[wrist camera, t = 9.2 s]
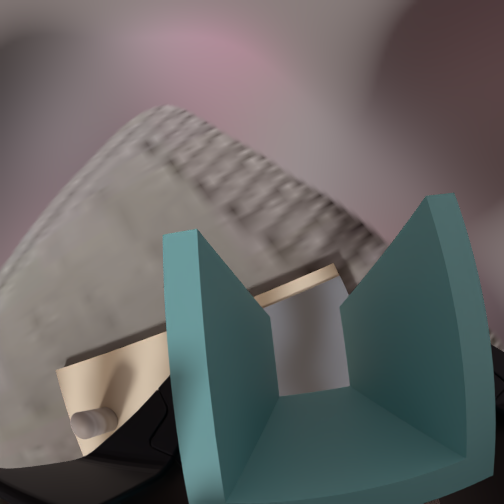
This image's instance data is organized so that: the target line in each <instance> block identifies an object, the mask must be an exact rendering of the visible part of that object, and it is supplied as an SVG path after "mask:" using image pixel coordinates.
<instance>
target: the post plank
mask: <svg viewBox="0 0 504 504" xmlns="http://www.w3.org/2000/svg"><path fill="white" fill-rule="evenodd" d="M348 296H349V294H348V292H347V290H346V288H345V286H344V283H343V281H342V279H341V277H340V276H339V274H338V272H337V270H336V268H335V265H334V263H333V264H331V265H328V266H326V267H324V268H321V269H319V270H317V271H314V272H312V273H310V274H307V275H305V276H303V277H300V278H298V279H296V280H293V281H291V282H289V283H286V284H284V285H281V286H279V287H277V288H274V289H272V290H269V291H267V292H265V293H262V294H260V295H257V296H255V297H254V299H255V300H256V301H257V302H258V303H259V305H260V306H261V307H262V308H263V309H264V310H265V312H266V313H267V314H268V315H269V316H270V320H271V328H272V336H273V345H274V353H275V362H276V371H277V379H278V388H279V396H287V395H295V394H303V393H310V392H317V391H323V390H330V389H336V388H341V387H347V386H350V383H349V374H348V366H347V358H346V350H345V342H344V335H343V328H342V321H341V315H340V308H339V307H340V306H341V304H342V303H343V302H344V301H345V300H346V299H347V297H348ZM56 373H57V377H58V381H59V384H60V388H61V391H62V395H63V398H64V402H65V405H66V408H67V411H68V414H69V417H70V420H71V421H70V423H71V428H72V430H73V432H74V433H75V435H76V438H77V440H78V443H79V446H80V448H81V451H82V453H83V456H86V455H87V454H89V453H91V452H92V451H93V450H95V449H96V448H97V447H98V446H99V445H100V444H102V443H103V442H104V441H105V440H106V439H107V438H108V437H109V436H111V435H112V434H113V433H114V432H115V431H116V430H117V429H118V428H120V427H121V426H122V425H123V424H124V423H125V422H126V421H127V420H128V419H129V418H130V417H131V416H132V415H133V414H135V413H136V412H137V411H138V410H139V409H140V407H141V406H142V405H143V404H144V403H145V402H146V401H147V400H148V399H149V398H150V397H151V396H152V394H153V393H154V392H155V391H156V390H158V388H159V387H160V385H161V384H162V383H163V382H164V381H165V380H166V379H167V378H168V376H169V375H170V367H169V356H168V344H167V331H166V332H163V333H160V334H158V335H155V336H152V337H149V338H147V339H144V340H141V341H139V342H136V343H133V344H130V345H128V346H125V347H122V348H119V349H116V350H114V351H111V352H108V353H105V354H102V355H99V356H96V357H94V358H91V359H88V360H85V361H82V362H79V363H76V364H73V365H70V366H67V367H64V368H61V369H58V370H56Z"/></svg>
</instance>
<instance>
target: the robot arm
mask: <svg viewBox="0 0 504 504" xmlns="http://www.w3.org/2000/svg"><path fill="white" fill-rule="evenodd" d="M491 352H492V361H493V372H494V387H495V417H496V427H495V456H494V470H493V475H492V476H490V477H488V478H486V479H484V480H482V481H480V482H478V483H475V484H473V485H471V486H468V487H466V488H464V489H461V490H459V491H456V492H454V493H451V494H449V495H446V496H443V497H441V498H439V500H440V504H504V352H503V351H501V350H500V349H498V348H496V347H494V346H493V345H491ZM0 504H189V501H188V496H187V491H186V486H185V480H184V474H183V468H182V462H181V456H180V449H179V443H178V436H177V429H176V421H175V413H174V405H173V396H172V387H171V378H170V375H169V376H168V378H167V379H166V380H165V381H164V382H163V383H162V384H161V385H160V387H159V388H158V390H156V391H155V392H154V393H153V394H152V396H151V397H150V398H149V399H148V400H147V401H146V402H145V403H144V404H143V405H142V406H141V407H140V409H139V410H138V411H137V412H136V413H135V414H133V415H132V416H131V417H130V418H129V419H128V420H127V421H126V422H125V423H124V424H123V425H122V426H121V427H120V428H118V429H117V430H116V431H115V432H114V433H113V434H112V435H111V436H109V437H108V438H107V439H106V440H105V441H104V442H103V443H102V444H100V445H99V446H98V447H97V448H96V449H95V450H93V451H92V452H91V453H89V454H87V455H86V456H84V457H82V458H79V459H76V460H72V461H66V462H60V463H54V464H48V465H40V466H33V467H24V468H13V469H6V468H0Z"/></svg>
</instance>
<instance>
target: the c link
mask: <svg viewBox="0 0 504 504" xmlns="http://www.w3.org/2000/svg"><path fill="white" fill-rule="evenodd" d="M163 270H164V295H165V314H166V330H167V344H168V356H169V367H170V378H171V387H172V396H173V405H174V413H175V421H176V429H177V436H178V443H179V449H180V456H181V462H182V468H183V474H184V480H185V486H186V491H187V496H188V501H189V504H423V503H426V502H429V501H432V500H435V499H438V498H441V497H443V496H446V495H449V494H451V493H454V492H456V491H459V490H461V489H464V488H466V487H468V486H471V485H473V484H475V483H478V482H480V481H482V480H484V479H486V478H488V477H490V476H492V475H493V470H494V456H495V427H496V417H495V387H494V372H493V361H492V352H491V343H490V336H489V329H488V322H487V316H486V310H485V306H484V299H483V294H482V290H481V285H480V280H479V276H478V271H477V268H476V263H475V259H474V255H473V252H472V248H471V244H470V241H469V238H468V234H467V231H466V227H465V224H464V221H463V217H462V214H461V212H460V208H459V205H458V202H457V199H456V197H455V194H454V193H448V194H439V195H430V196H426V197H425V198H424V199H423V201H422V202H421V204H420V205H419V207H418V208H417V209H416V211H415V212H414V213H413V215H412V216H411V218H410V219H409V220H408V222H407V223H406V225H405V226H404V227H403V228H402V230H401V231H400V232H399V234H398V235H397V236H396V238H395V239H394V240H393V242H392V243H391V244H390V246H389V247H388V248H387V249H386V251H385V252H384V253H383V255H382V256H381V257H380V258H379V260H378V261H377V262H376V263H375V265H374V266H373V267H372V268H371V270H370V271H369V272H368V273H367V275H366V276H365V277H364V278H363V279H362V281H361V282H360V283H359V284H358V286H357V287H356V288H355V289H354V290H353V291H352V293H351V294H350V295H349V296H348V297H347V299H346V300H345V301H344V302H343V303H342V304H341V306H340V307H339V308H340V315H341V321H342V328H343V335H344V342H345V350H346V358H347V366H348V374H349V383H350V386H347V387H341V388H336V389H330V390H323V391H317V392H310V393H303V394H295V395H287V396H279V388H278V379H277V371H276V362H275V353H274V345H273V336H272V328H271V320H270V316H269V315H268V314H267V313H266V312H265V310H264V309H263V308H262V307H261V306H260V305H259V303H258V302H257V301H256V300H255V299H254V297H253V296H252V295H251V294H250V293H249V291H248V290H247V289H246V288H245V287H244V285H243V284H242V283H241V282H240V281H239V279H238V278H237V277H236V276H235V275H234V273H233V272H232V271H231V270H230V269H229V267H228V266H227V265H226V264H225V263H224V261H223V260H222V259H221V258H220V256H219V255H218V254H217V253H216V252H215V250H214V249H213V248H212V247H211V245H210V244H209V243H208V242H207V241H206V239H205V238H204V237H203V236H202V234H201V233H200V232H199V231H198V230H197V229H194V230H188V231H182V232H176V233H171V234H165V235H163Z"/></svg>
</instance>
